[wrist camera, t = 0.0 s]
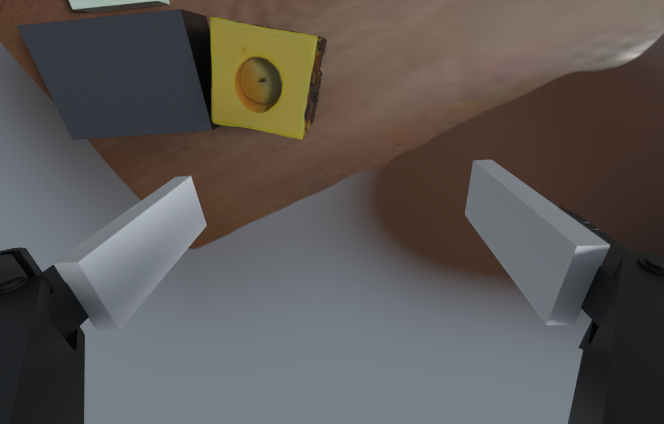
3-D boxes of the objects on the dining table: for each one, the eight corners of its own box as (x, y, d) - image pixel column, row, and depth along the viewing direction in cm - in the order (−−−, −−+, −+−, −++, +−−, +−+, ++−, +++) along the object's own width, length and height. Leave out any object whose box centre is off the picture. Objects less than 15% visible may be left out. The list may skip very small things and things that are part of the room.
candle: (327, 38, 35) (321, 32, 26) (315, 123, 40) (306, 142, 31) (243, 21, 35) (208, 9, 26) (241, 109, 39) (210, 124, 31)
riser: (65, 30, 36) (16, 25, 31) (206, 16, 34) (180, 9, 29) (107, 129, 41) (72, 139, 36) (230, 120, 40) (212, 130, 35)
